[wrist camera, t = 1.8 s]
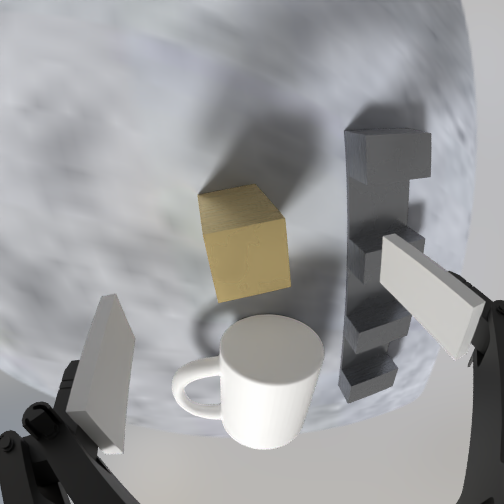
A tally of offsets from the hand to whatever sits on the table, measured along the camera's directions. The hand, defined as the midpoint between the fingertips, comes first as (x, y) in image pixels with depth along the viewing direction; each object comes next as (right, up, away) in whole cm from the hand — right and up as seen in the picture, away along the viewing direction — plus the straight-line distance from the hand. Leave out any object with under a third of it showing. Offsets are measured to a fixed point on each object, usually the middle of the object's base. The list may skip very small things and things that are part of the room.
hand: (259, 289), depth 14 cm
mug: (-2, -8, +14) cm, 16 cm away
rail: (+11, -1, +13) cm, 17 cm away
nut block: (-2, +4, +8) cm, 9 cm away
